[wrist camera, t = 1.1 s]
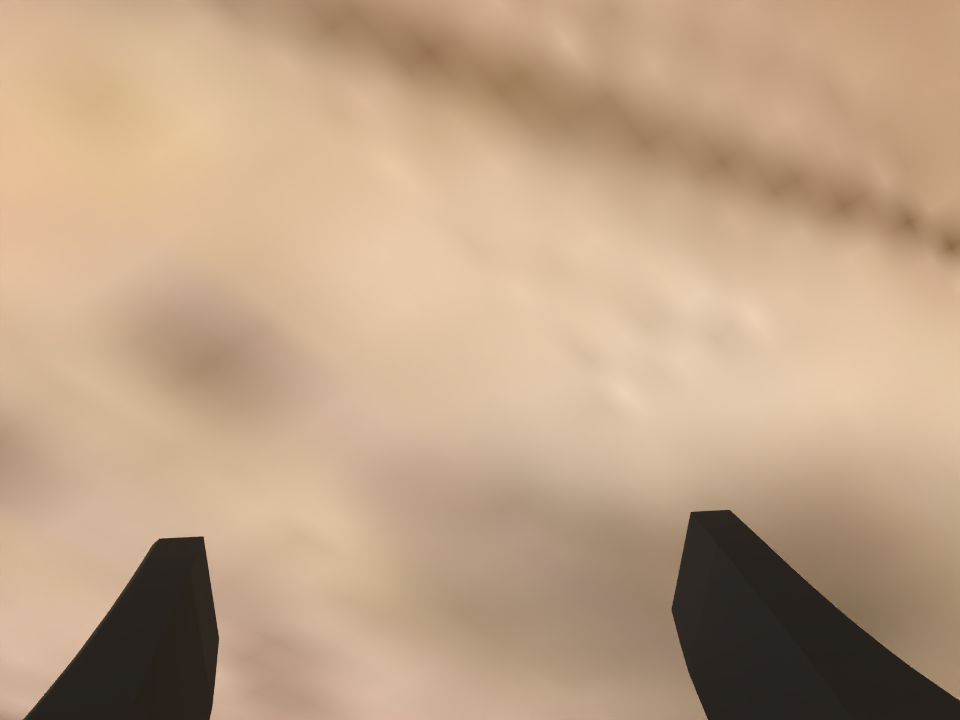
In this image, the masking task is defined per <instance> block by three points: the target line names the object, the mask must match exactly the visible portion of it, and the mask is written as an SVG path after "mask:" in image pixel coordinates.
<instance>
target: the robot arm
mask: <svg viewBox="0 0 960 720" xmlns="http://www.w3.org/2000/svg"><path fill="white" fill-rule="evenodd" d="M672 613H673V617H674V621H675V625H676V629H677V632H678V636H679V640H680V644H681V647H682V651H683V654H684V658H685V661H686V665H687V668H688V671H689V674H690V677H691V679H692V682H693V684H694V687H695V689H696V691H697V694H698V696H699V699H700V701H701V704H702V706H703V708H704V711H705V713H706V716H707V718H708V720H960V701H959V700H958V699H956V698H955V697H953V696H952V695H950V694H949V693H948V692H946V691H945V690H943V689H942V688H940V687H939V686H937V685H936V684H935V683H933V682H932V681H930V680H929V679H927V678H926V677H925V676H923V675H922V674H920V673H919V672H917V671H916V670H914V669H913V668H912V667H910V666H909V665H908V664H906V663H905V662H904V661H902V660H901V659H900V658H898V657H897V656H896V655H894V654H893V653H892V652H890V651H889V650H888V649H887V648H885V647H884V646H883V645H882V644H880V643H879V642H878V641H877V640H875V639H874V638H873V637H871V636H870V635H869V634H868V633H866V632H865V631H864V630H863V629H861V628H860V627H859V626H858V625H856V624H855V623H854V622H853V621H852V620H850V619H849V618H848V617H847V616H846V615H845V614H843V613H842V612H841V611H840V610H839V609H837V608H836V607H835V606H834V605H833V604H832V603H830V602H829V601H828V600H827V599H826V598H825V597H824V596H822V595H821V594H820V593H819V592H818V591H817V590H816V589H815V588H813V587H812V586H811V585H810V584H809V583H808V582H807V581H806V580H805V579H803V578H802V577H801V576H800V575H799V574H798V573H797V572H796V571H795V570H794V569H792V568H791V567H790V566H789V565H788V564H787V563H786V562H785V561H784V560H783V559H782V558H781V557H780V556H778V555H777V554H776V553H775V552H774V551H773V550H772V549H771V548H770V547H769V546H768V545H767V544H766V543H765V542H764V541H762V540H761V539H760V538H759V537H758V536H757V535H756V534H755V533H754V532H753V531H752V530H751V529H750V528H749V527H748V526H747V525H745V524H744V523H743V522H742V521H741V520H740V519H739V518H738V517H737V516H736V515H735V514H733V513H732V512H731V511H730V510H720V511H700V512H691V514H690V519H689V524H688V529H687V534H686V539H685V544H684V549H683V554H682V559H681V564H680V569H679V575H678V580H677V585H676V590H675V595H674V600H673V605H672ZM218 644H219V635H218V629H217V622H216V616H215V609H214V603H213V596H212V589H211V583H210V576H209V570H208V563H207V557H206V550H205V544H204V537H184V538H164V539H159V540H158V541H157V542H155V543H154V544H153V545H152V547H151V548H150V550H149V552H148V553H147V555H146V556H145V558H144V560H143V561H142V563H141V564H140V566H139V567H138V569H137V570H136V572H135V574H134V575H133V577H132V578H131V580H130V581H129V583H128V584H127V586H126V587H125V589H124V590H123V592H122V593H121V594H120V596H119V597H118V599H117V600H116V602H115V603H114V605H113V606H112V608H111V609H110V610H109V612H108V613H107V615H106V616H105V617H104V619H103V620H102V621H101V623H100V624H99V625H98V627H97V628H96V630H95V631H94V632H93V634H92V635H91V636H90V638H89V639H88V640H87V642H86V643H85V644H84V646H83V647H82V648H81V650H80V651H79V653H78V654H77V655H76V656H75V658H74V659H73V660H72V662H71V663H70V664H69V665H68V667H67V668H66V669H65V670H64V671H63V673H62V674H61V675H60V676H59V677H58V679H57V680H56V681H55V682H54V684H53V685H52V686H51V687H50V688H49V690H48V691H47V692H46V693H45V694H44V696H43V697H42V698H41V699H40V701H39V702H38V703H37V704H36V705H35V707H34V708H33V709H32V710H31V711H30V712H29V714H28V715H27V716H26V717H25V718H24V719H23V720H210V715H211V710H212V704H213V695H214V685H215V676H216V665H217V654H218Z"/></svg>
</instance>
